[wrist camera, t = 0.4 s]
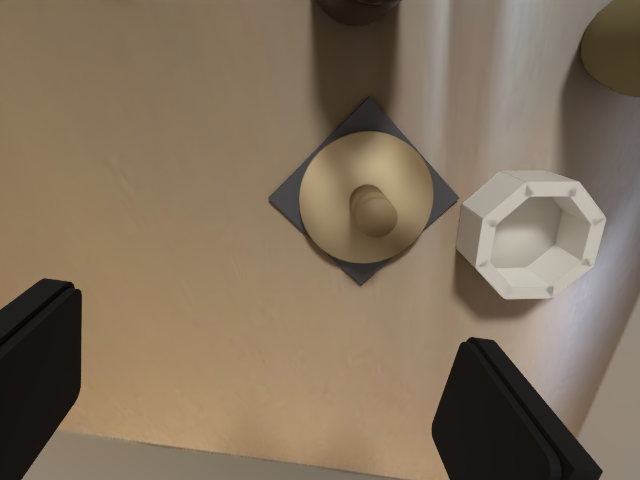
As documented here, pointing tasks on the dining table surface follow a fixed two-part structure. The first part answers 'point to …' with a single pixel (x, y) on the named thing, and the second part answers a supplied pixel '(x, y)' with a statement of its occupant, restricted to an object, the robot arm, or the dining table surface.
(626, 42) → the squeeze bottle
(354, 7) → the supplement bottle
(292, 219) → the mat
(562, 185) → the bowl
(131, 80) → the dining table surface
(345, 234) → the lid
